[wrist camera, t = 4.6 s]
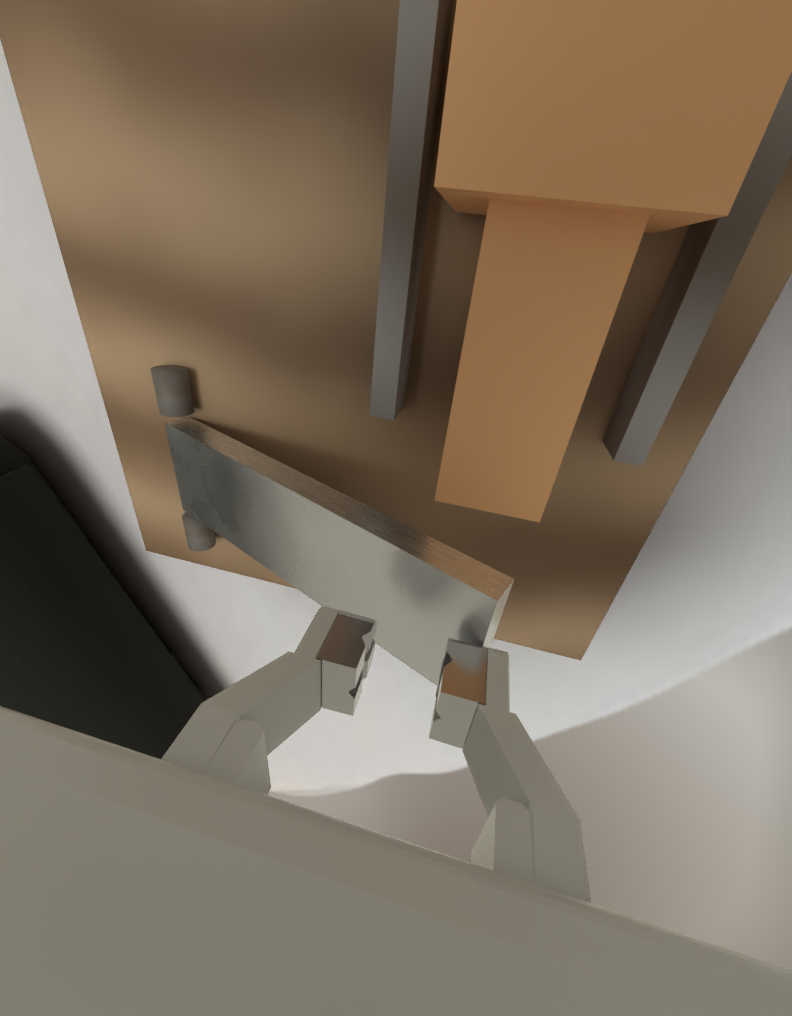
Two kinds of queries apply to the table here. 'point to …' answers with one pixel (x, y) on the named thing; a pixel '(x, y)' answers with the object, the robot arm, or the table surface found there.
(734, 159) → the bolt
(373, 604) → the grey flat bar
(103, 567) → the portable speaker
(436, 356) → the base
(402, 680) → the table surface
